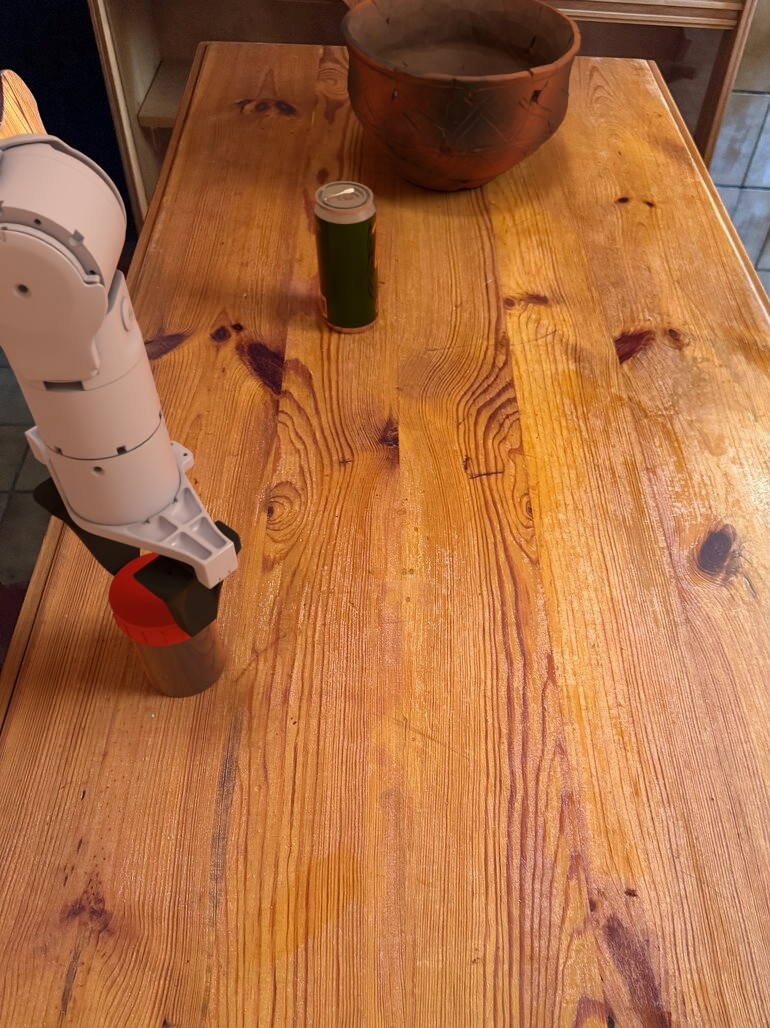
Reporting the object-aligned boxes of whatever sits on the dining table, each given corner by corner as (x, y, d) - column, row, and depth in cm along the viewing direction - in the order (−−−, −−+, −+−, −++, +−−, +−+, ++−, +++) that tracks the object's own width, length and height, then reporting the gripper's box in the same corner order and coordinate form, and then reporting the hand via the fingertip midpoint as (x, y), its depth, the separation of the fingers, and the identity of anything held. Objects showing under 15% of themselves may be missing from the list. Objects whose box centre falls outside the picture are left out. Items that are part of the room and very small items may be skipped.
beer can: (335, 341, 82) (326, 217, 73) (313, 309, 85) (302, 186, 76) (388, 327, 84) (386, 204, 74) (365, 296, 87) (360, 175, 77)
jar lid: (234, 587, 56) (229, 568, 54) (181, 660, 52) (175, 641, 51) (152, 558, 57) (145, 538, 56) (95, 626, 54) (86, 607, 52)
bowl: (536, 243, 94) (556, 91, 82) (316, 202, 97) (304, 50, 85) (578, 139, 109) (599, -2, 97) (385, 106, 112) (384, -34, 100)
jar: (140, 698, 58) (110, 630, 52) (152, 633, 61) (125, 562, 55) (221, 696, 58) (200, 628, 52) (229, 632, 62) (210, 561, 56)
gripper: (267, 445, 42) (294, 616, 53) (76, 322, 47) (136, 500, 58) (149, 528, 39) (204, 693, 49) (-43, 385, 44) (44, 562, 55)
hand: (161, 593), depth 54 cm, fingers open, 6 cm apart
